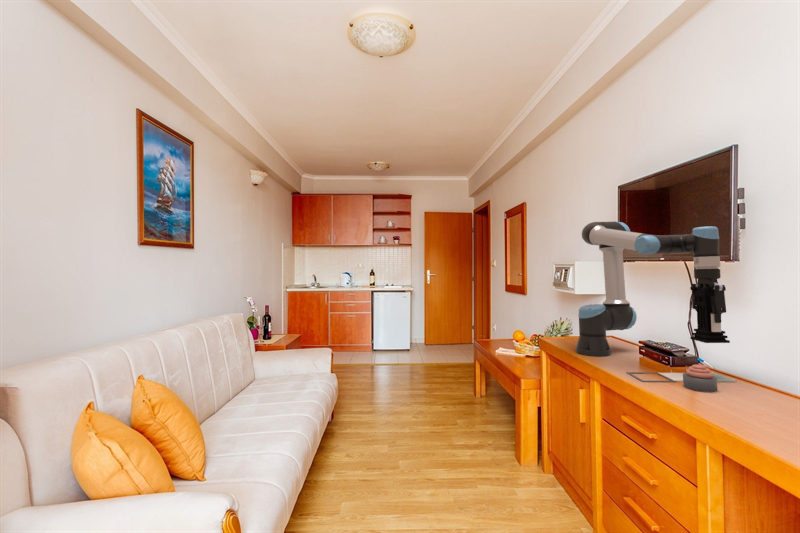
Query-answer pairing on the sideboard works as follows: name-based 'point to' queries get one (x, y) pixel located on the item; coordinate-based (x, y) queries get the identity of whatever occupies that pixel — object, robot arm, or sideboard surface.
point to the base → (700, 383)
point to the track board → (679, 377)
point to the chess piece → (705, 318)
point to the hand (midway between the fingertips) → (709, 330)
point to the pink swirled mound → (699, 371)
